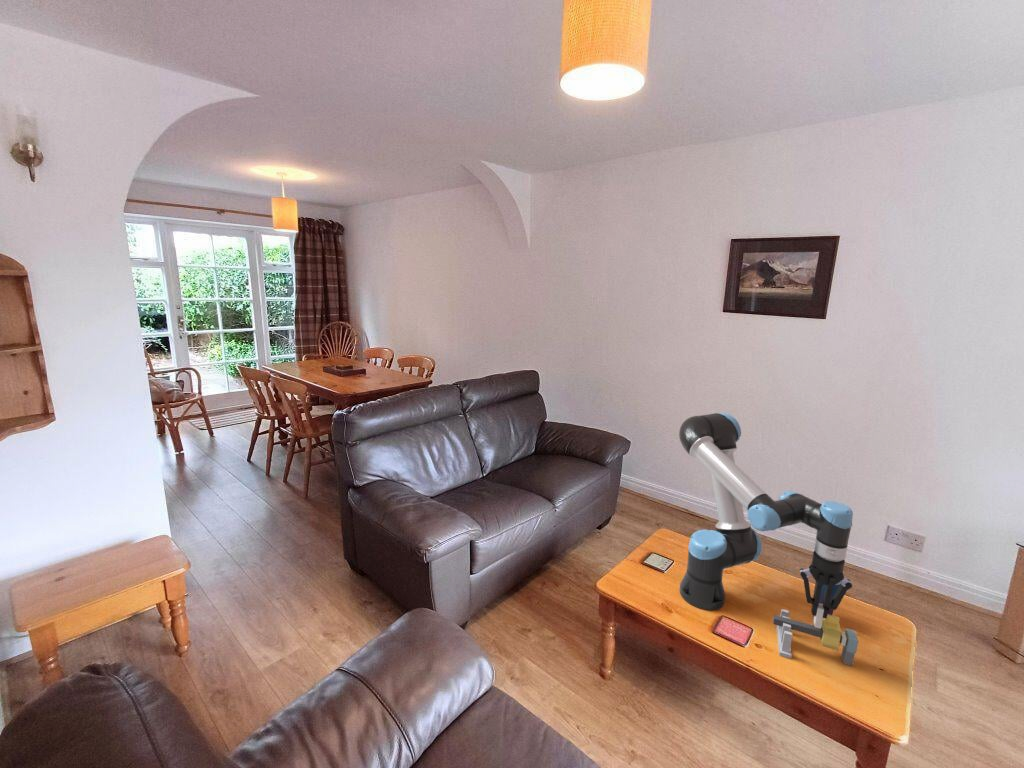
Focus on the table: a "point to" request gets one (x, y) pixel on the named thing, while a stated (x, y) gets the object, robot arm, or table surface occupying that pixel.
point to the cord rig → (785, 635)
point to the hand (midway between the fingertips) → (817, 624)
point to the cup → (831, 595)
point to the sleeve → (831, 632)
